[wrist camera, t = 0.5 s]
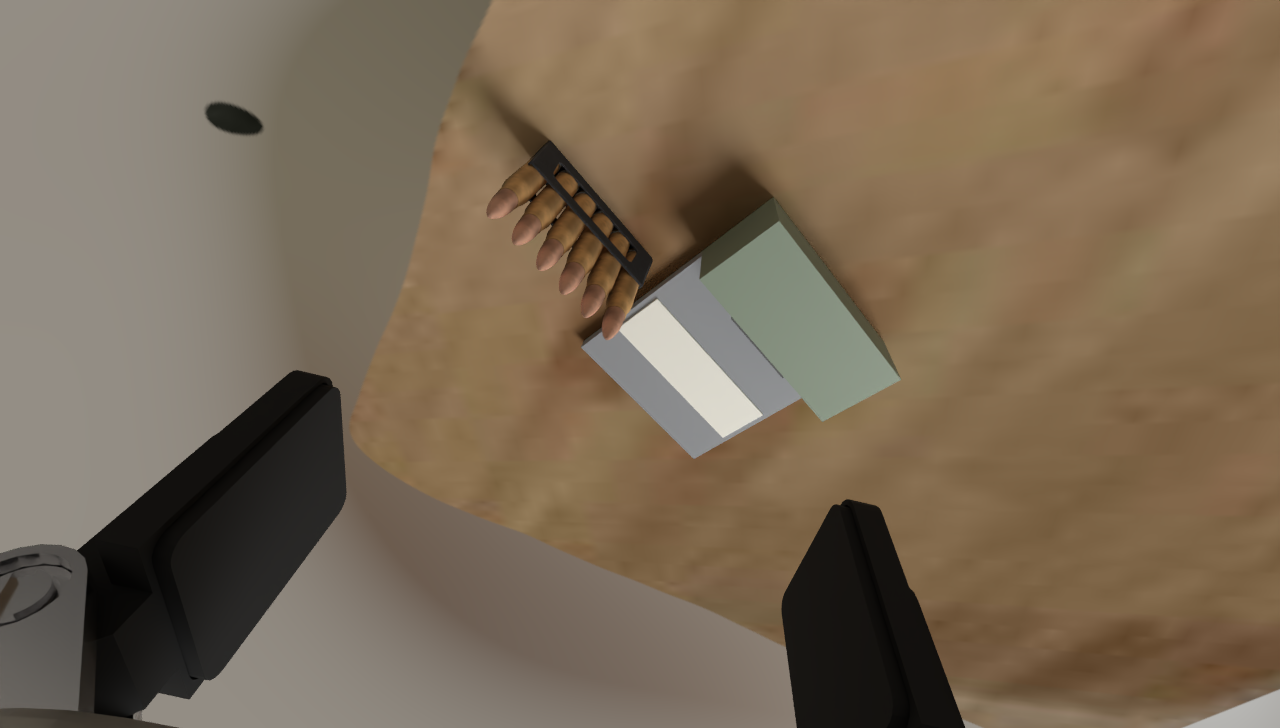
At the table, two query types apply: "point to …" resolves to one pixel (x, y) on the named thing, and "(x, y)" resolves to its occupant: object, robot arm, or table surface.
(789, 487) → the table surface
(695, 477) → the table surface
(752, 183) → the table surface
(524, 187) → the ammunition clip
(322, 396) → the robot arm
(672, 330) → the plate with green block
